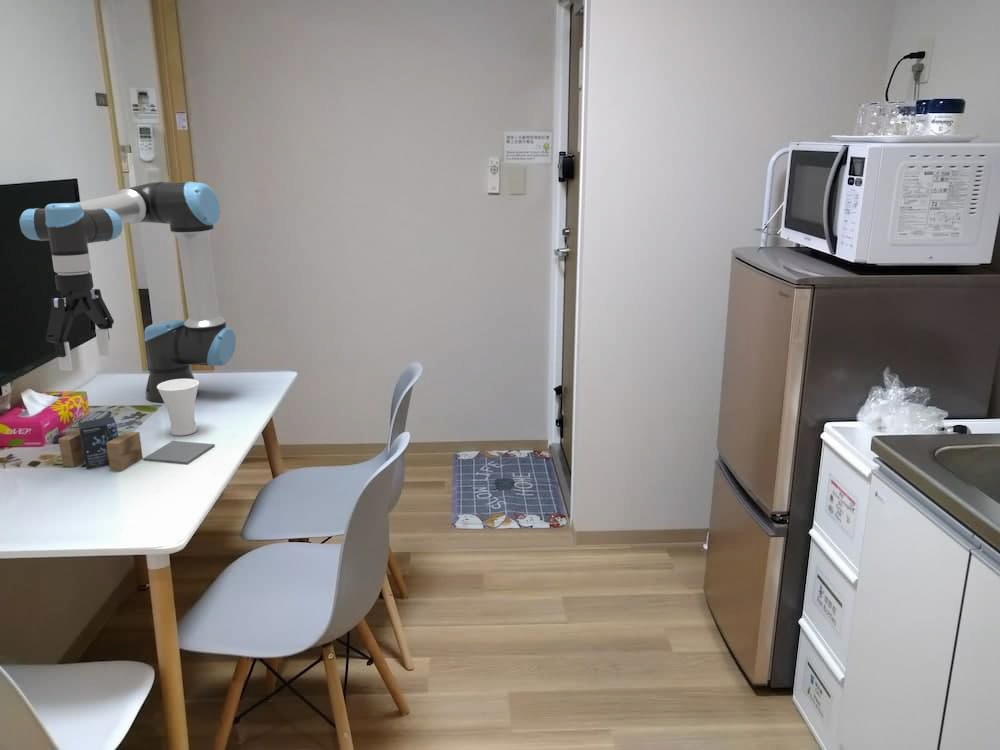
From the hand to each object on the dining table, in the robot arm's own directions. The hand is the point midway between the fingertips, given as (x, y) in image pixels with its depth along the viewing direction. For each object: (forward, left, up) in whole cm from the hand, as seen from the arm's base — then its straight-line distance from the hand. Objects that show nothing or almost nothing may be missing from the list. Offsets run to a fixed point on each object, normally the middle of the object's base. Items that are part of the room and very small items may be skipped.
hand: (86, 362), depth 181 cm
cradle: (0, 0, -25) cm, 25 cm away
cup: (-23, +7, -26) cm, 35 cm away
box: (0, 0, -26) cm, 26 cm away
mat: (-9, +15, -25) cm, 31 cm away
